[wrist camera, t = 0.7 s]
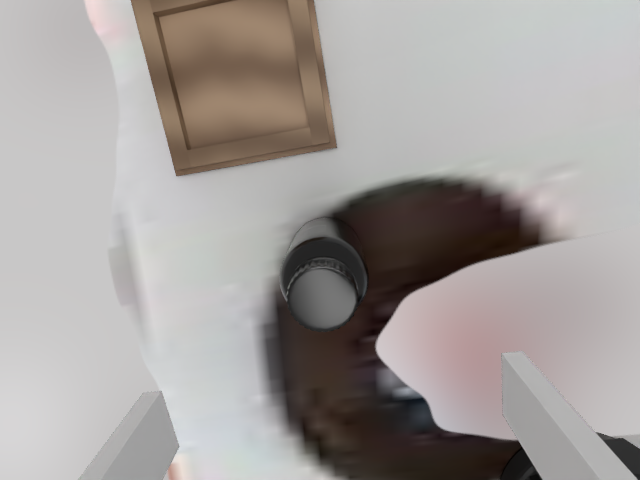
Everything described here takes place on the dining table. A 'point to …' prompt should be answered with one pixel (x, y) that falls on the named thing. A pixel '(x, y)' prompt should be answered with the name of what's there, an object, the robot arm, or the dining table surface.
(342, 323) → the supplement bottle
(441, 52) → the dining table surface
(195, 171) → the walnut tray
